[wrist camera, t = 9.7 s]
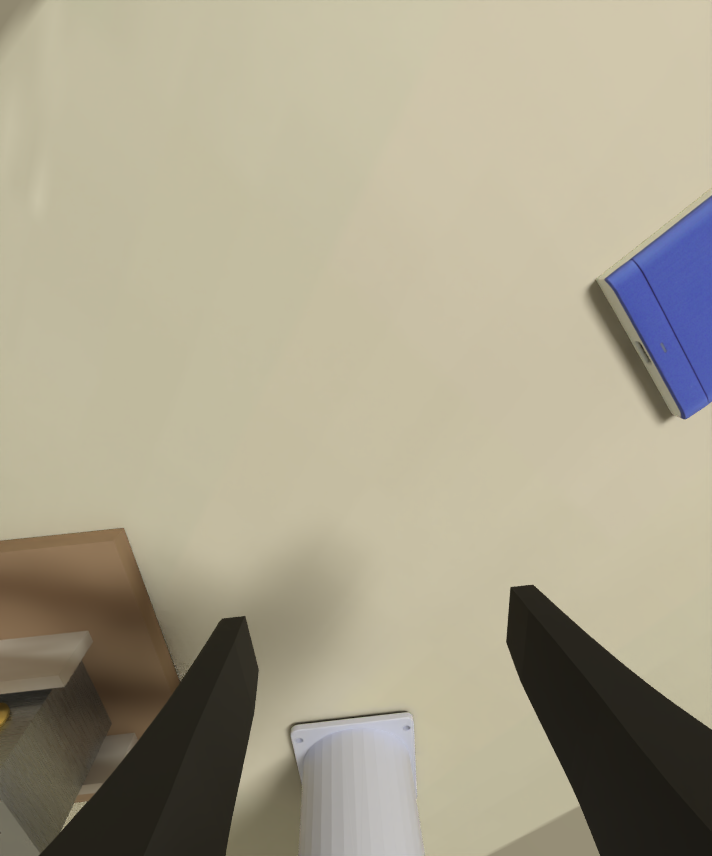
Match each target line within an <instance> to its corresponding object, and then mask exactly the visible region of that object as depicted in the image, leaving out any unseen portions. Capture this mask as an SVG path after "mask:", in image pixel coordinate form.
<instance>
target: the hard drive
mask: <svg viewBox="0 0 712 856" xmlns="http://www.w3.org/2000/svg"><path fill="white" fill-rule="evenodd" d="M596 281H597V283H598V284H599V286H600V288H601V290H602V291H603V293H604V295H605V297H606V298H607V300H608V302H609V303H610V305H611V307H612V309H613V311H614V312H615V314H616V316H617V318H618V319H619V321H620V323H621V325H622V326H623V328H624V330H625V332H626V333H627V335H628V337H629V339H630V340H631V342H632V344H633V346H634V348H635V349H636V351H637V353H638V355H639V356H640V358H641V360H642V362H643V363H644V365H645V367H646V369H647V371H648V372H649V374H650V376H651V378H652V379H653V381H654V383H655V385H656V387H657V388H658V390H659V392H660V394H661V396H662V397H663V399H664V401H665V403H666V404H667V406H668V408H669V410H670V412H671V413H672V414H673V415H675V416H677V417H680V418H682V419H687V418H689V417H690V416H692V415H693V414H695V413H696V412H698V411H699V410H701V409H702V408H704V407H705V406H707V405H708V404H709V403H710V402H712V188H711V189H710V190H708V191H707V192H706V193H704V194H703V195H702V196H701V197H699V198H698V199H697V200H696V201H694V202H693V203H692V204H691V205H689V206H688V207H687V208H685V209H684V210H683V211H682V212H680V213H679V214H678V215H677V216H675V217H674V218H673V219H672V220H670V221H669V222H668V223H666V224H665V225H664V226H663V227H661V228H660V229H659V230H658V231H656V232H655V233H654V234H653V235H651V236H650V237H649V238H647V239H646V240H645V241H644V242H642V243H641V244H640V245H639V246H637V247H636V248H635V249H633V250H632V251H631V252H630V253H628V254H627V255H626V256H625V257H623V258H622V259H621V260H620V261H618V262H617V263H616V264H614V265H613V266H612V267H610V268H609V269H608V270H607V271H605V272H604V273H603V274H602V275H600V276H599V277H598V278H597V279H596Z"/></svg>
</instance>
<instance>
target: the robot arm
mask: <svg viewBox="0 0 712 856" xmlns="http://www.w3.org/2000/svg"><path fill="white" fill-rule="evenodd" d="M506 642H507V645H508V648H509V651H510V654H511V656H512V659H513V662H514V665H515V668H516V670H517V673H518V675H519V678H520V681H521V683H522V685H523V687H524V690H525V692H526V694H527V696H528V698H529V700H530V702H531V704H532V706H533V708H534V710H535V712H536V714H537V716H538V719H539V721H540V723H541V725H542V727H543V729H544V731H545V733H546V735H547V737H548V739H549V741H550V743H551V745H552V747H553V749H554V751H555V753H556V755H557V757H558V759H559V761H560V763H561V765H562V767H563V769H564V771H565V773H566V775H567V778H568V780H569V782H570V784H571V786H572V788H573V791H574V793H575V795H576V797H577V799H578V802H579V804H580V806H581V809H582V811H583V814H584V816H585V819H586V821H587V824H588V826H589V829H590V831H591V834H592V836H593V839H594V841H595V843H596V846H597V849H598V851H599V854H600V856H712V730H711V729H710V728H708V727H707V726H705V725H704V724H703V723H701V722H700V721H698V720H697V719H696V718H694V717H693V716H691V715H690V714H688V713H687V712H686V711H684V710H683V709H681V708H680V707H679V706H677V705H676V704H674V703H673V702H671V701H670V700H669V699H667V698H666V697H665V696H663V695H662V694H661V693H659V692H658V691H657V690H655V689H654V688H653V687H651V686H650V685H649V684H648V683H646V682H645V681H644V680H643V679H641V678H640V677H639V676H637V675H636V674H635V673H634V672H632V671H631V670H630V669H629V668H627V667H626V666H625V665H624V664H623V663H621V662H620V661H619V660H618V659H616V658H615V657H614V656H613V655H612V654H610V653H609V652H608V651H607V650H606V649H605V648H603V647H602V646H601V645H600V644H599V643H598V642H596V641H595V640H594V639H593V638H592V637H590V636H589V635H588V634H587V633H586V632H585V631H584V630H582V629H581V628H580V627H579V626H578V625H577V624H576V623H575V622H574V621H572V620H571V619H570V618H569V617H568V616H567V615H566V614H565V613H563V612H562V611H561V610H560V609H559V608H558V607H557V606H556V605H555V604H554V603H553V602H551V601H550V600H549V599H548V598H547V597H546V596H545V595H544V594H543V593H542V592H540V591H539V590H538V589H537V588H536V587H535V586H534V585H526V586H517V587H511V588H510V601H509V614H508V627H507V640H506ZM258 671H259V669H258V665H257V661H256V657H255V653H254V649H253V645H252V641H251V637H250V633H249V629H248V625H247V621H246V618H245V616H242V617H233V618H224V619H222V620H221V621H220V622H219V623H218V625H217V627H216V628H215V630H214V631H213V633H212V635H211V636H210V638H209V639H208V641H207V642H206V644H205V646H204V647H203V649H202V650H201V652H200V653H199V655H198V657H197V658H196V660H195V661H194V663H193V664H192V666H191V667H190V669H189V670H188V672H187V673H186V675H185V676H184V678H183V679H182V680H181V682H180V683H179V685H178V686H177V688H176V689H175V691H174V692H173V694H172V695H171V696H170V698H169V699H168V701H167V702H166V704H165V705H164V706H163V708H162V709H161V710H160V712H159V713H158V714H157V716H156V717H155V718H154V720H153V721H152V723H151V724H150V725H149V727H148V728H147V729H146V731H145V732H144V733H143V735H142V736H141V737H140V739H139V740H138V741H137V743H136V744H135V745H134V746H133V748H132V749H131V750H130V751H129V753H128V754H127V755H126V757H125V758H124V759H123V760H122V761H121V763H120V764H119V765H118V766H117V768H116V769H115V770H114V771H113V772H112V774H111V775H110V776H109V777H108V778H107V780H106V781H105V782H104V783H103V784H102V786H101V787H100V788H99V789H98V790H97V792H96V793H95V794H94V795H93V796H92V797H91V798H90V800H89V801H88V802H87V803H86V804H85V805H84V806H83V807H82V809H81V810H80V811H79V812H78V813H77V814H76V815H75V816H74V818H73V819H72V820H71V821H70V822H69V823H68V824H67V825H66V826H65V828H64V829H63V830H62V831H61V832H60V833H59V834H58V835H57V836H56V837H55V839H54V840H53V841H52V842H51V843H50V844H49V845H48V846H47V847H46V848H45V849H44V850H43V851H42V852H41V853H40V855H39V856H226V848H227V842H228V837H229V831H230V826H231V820H232V816H233V811H234V806H235V801H236V797H237V792H238V787H239V783H240V778H241V773H242V768H243V764H244V759H245V754H246V750H247V745H248V740H249V735H250V730H251V726H252V721H253V716H254V709H255V700H256V691H257V681H258ZM291 740H292V744H293V749H294V753H295V757H296V762H297V766H298V771H299V775H300V779H301V784H302V799H301V817H300V835H299V853H298V856H425V850H424V844H423V838H422V831H421V825H420V819H419V812H418V806H417V800H416V799H417V783H416V762H415V741H414V721H413V716H412V714H410V713H408V712H403V713H394V714H385V715H377V716H368V717H359V718H351V719H342V720H333V721H325V722H316V723H307V724H299V725H295V726H293V727H292V728H291Z"/></svg>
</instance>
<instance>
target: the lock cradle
mask: <svg viewBox="0 0 712 856" xmlns="http://www.w3.org/2000/svg"><path fill="white" fill-rule="evenodd" d="M81 660H82V662H83V664H84V666H85V668H86V670H87V672H88V674H89V676H90V678H91V680H92V682H93V685H94V687H95V689H96V691H97V693H98V695H99V697H100V699H101V701H102V703H103V705H104V707H105V709H106V711H107V714H108V716H109V718H110V720H111V722H112V725H111V727H110V729H109V731H108V733H107V735H106V737H105V739H104V742H103V744H102V746H101V748H100V750H99V752H98V754H97V756H96V758H95V760H94V762H93V765H92V767H91V769H90V771H89V773H88V775H87V777H86V779H85V781H84V783H83V785H82V787H81V790H80V792H79V794H78V796H77V798H76V800H75V802H74V803H76V802H84V801H89V800H90V798H91V797H92V796H93V795H94V794H95V793H96V792H97V790H98V789H99V788H100V787H101V786H102V784H103V783H104V782H105V781H106V780H107V778H108V777H109V776H110V775H111V774H112V772H113V771H114V770H115V769H116V768H117V766H118V765H119V764H120V763H121V761H122V760H123V759H124V758H125V757H126V755H127V754H128V753H129V751H130V750H131V749H132V748H133V746H134V745H135V744H136V743H137V741H138V740H139V739H140V737H141V736H142V735H143V733H144V732H145V731H146V729H147V728H148V727H149V725H150V724H151V723H152V721H153V720H154V718H155V717H156V716H157V714H158V713H159V712H160V710H161V709H162V708H163V706H164V705H165V704H166V702H167V701H168V699H169V698H170V696H171V695H172V694H173V692H174V691H175V689H176V688H177V686H178V685H179V683H180V681H179V679H178V676H177V673H176V670H175V668H174V665H173V662H172V659H171V657H170V654H169V651H168V648H167V646H166V643H165V640H164V637H163V635H162V632H161V629H160V626H159V624H158V621H157V618H156V615H155V613H154V610H153V607H152V604H151V602H150V599H149V596H148V593H147V591H146V588H145V585H144V582H143V580H142V577H141V574H140V571H139V569H138V566H137V563H136V560H135V558H134V555H133V552H132V549H131V547H130V544H129V541H128V538H127V536H126V533H125V530H124V528H120V529H110V530H100V531H91V532H81V533H72V534H62V535H52V536H43V537H33V538H24V539H14V540H4V541H0V694H6V693H15V692H24V691H33V690H42V689H50V688H59V687H65V685H66V684H67V682H68V681H69V679H70V678H71V676H72V674H73V673H74V671H75V670H76V668H77V666H78V665H79V663H80V662H81Z"/></svg>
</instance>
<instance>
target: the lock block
mask: <svg viewBox="0 0 712 856" xmlns="http://www.w3.org/2000/svg"><path fill="white" fill-rule="evenodd" d="M111 725H112V722H111V720H110V718H109V716H108V714H107V711H106V709H105V707H104V705H103V703H102V701H101V699H100V697H99V695H98V693H97V691H96V689H95V687H94V685H93V682H92V680H91V678H90V676H89V674H88V672H87V670H86V668H85V666H84V664H83V662H82V660H81V662H80V663H79V665H78V666H77V668H76V670H75V671H74V673H73V674H72V676H71V678H70V679H69V681H68V682H67V684H66V685H65V687H59V688H50V689H42V690H33V691H24V692H15V693H6V694H0V856H39V855H40V853H41V852H42V851H43V850H44V849H45V848H46V847H47V846H48V845H49V844H50V843H51V842H52V841H53V840H54V839H55V837H56V836H57V835H58V834H59V833H60V831H61V829H62V827H63V825H64V823H65V821H66V819H67V817H68V815H69V813H70V810H71V808H72V806H73V804H74V802H75V800H76V798H77V796H78V794H79V792H80V790H81V787H82V785H83V783H84V781H85V779H86V777H87V775H88V773H89V771H90V769H91V767H92V765H93V762H94V760H95V758H96V756H97V754H98V752H99V750H100V748H101V746H102V744H103V742H104V739H105V737H106V735H107V733H108V731H109V729H110V727H111Z"/></svg>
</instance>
